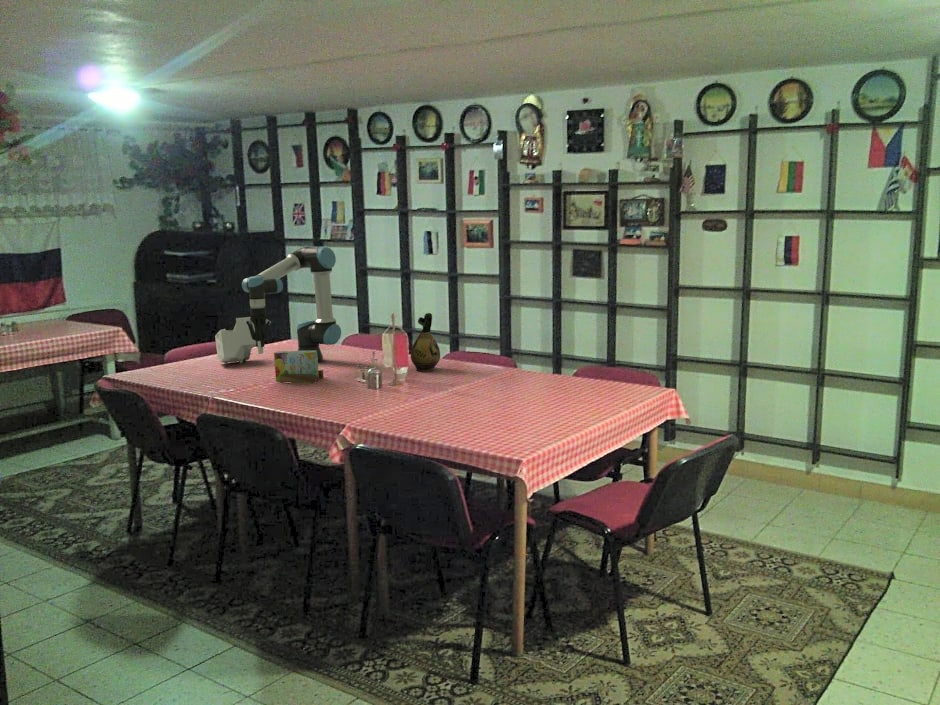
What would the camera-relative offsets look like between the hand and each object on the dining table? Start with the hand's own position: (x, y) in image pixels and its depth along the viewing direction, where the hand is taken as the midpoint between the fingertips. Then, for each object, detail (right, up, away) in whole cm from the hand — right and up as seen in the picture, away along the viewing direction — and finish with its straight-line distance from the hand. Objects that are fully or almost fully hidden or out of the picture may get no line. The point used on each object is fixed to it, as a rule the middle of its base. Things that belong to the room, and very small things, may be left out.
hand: (260, 353), depth 427 cm
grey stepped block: (-26, -6, +51) cm, 57 cm away
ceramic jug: (+83, -9, +17) cm, 86 cm away
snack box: (+19, -14, -1) cm, 23 cm away
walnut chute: (+21, -14, -1) cm, 25 cm away
